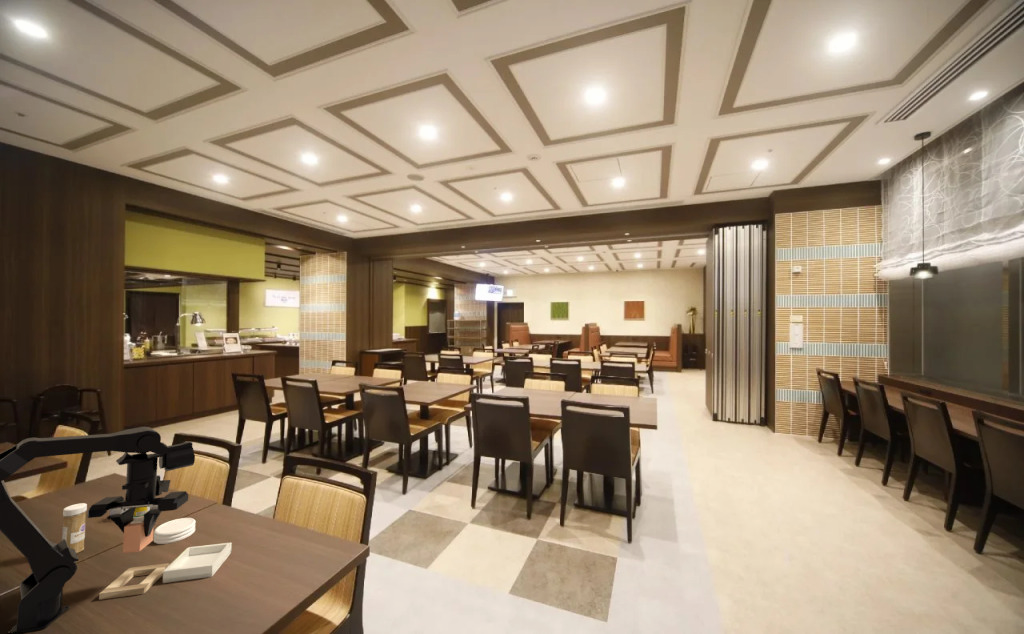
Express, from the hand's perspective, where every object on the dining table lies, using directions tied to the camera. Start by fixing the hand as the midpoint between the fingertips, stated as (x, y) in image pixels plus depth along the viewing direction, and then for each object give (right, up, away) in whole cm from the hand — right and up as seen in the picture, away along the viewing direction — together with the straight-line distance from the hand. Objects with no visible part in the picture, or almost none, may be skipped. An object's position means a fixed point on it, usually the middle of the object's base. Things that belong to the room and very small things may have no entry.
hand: (138, 536), depth 97 cm
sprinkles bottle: (-32, -12, +12) cm, 36 cm away
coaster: (-10, -13, +22) cm, 27 cm away
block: (0, -3, 0) cm, 2 cm away
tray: (+10, -12, +7) cm, 17 cm away
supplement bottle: (-32, -13, +33) cm, 48 cm away
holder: (0, -12, 0) cm, 12 cm away
